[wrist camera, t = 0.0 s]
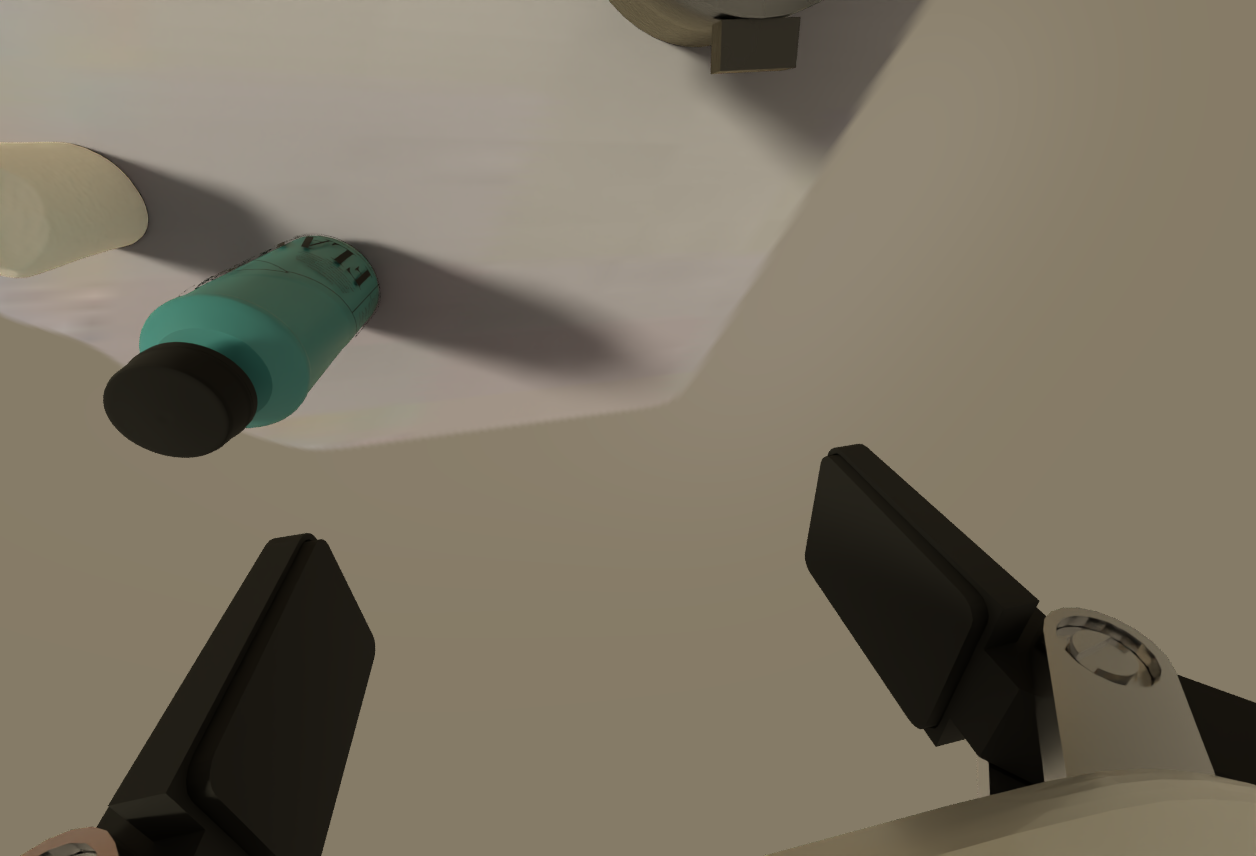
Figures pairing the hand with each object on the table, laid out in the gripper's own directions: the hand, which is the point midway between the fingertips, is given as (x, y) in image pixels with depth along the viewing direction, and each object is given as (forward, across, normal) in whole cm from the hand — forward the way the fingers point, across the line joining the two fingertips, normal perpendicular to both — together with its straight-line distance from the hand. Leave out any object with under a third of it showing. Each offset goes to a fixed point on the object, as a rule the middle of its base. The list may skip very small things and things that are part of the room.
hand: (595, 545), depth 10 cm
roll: (+32, +26, -5) cm, 41 cm away
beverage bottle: (+31, +14, +1) cm, 34 cm away
